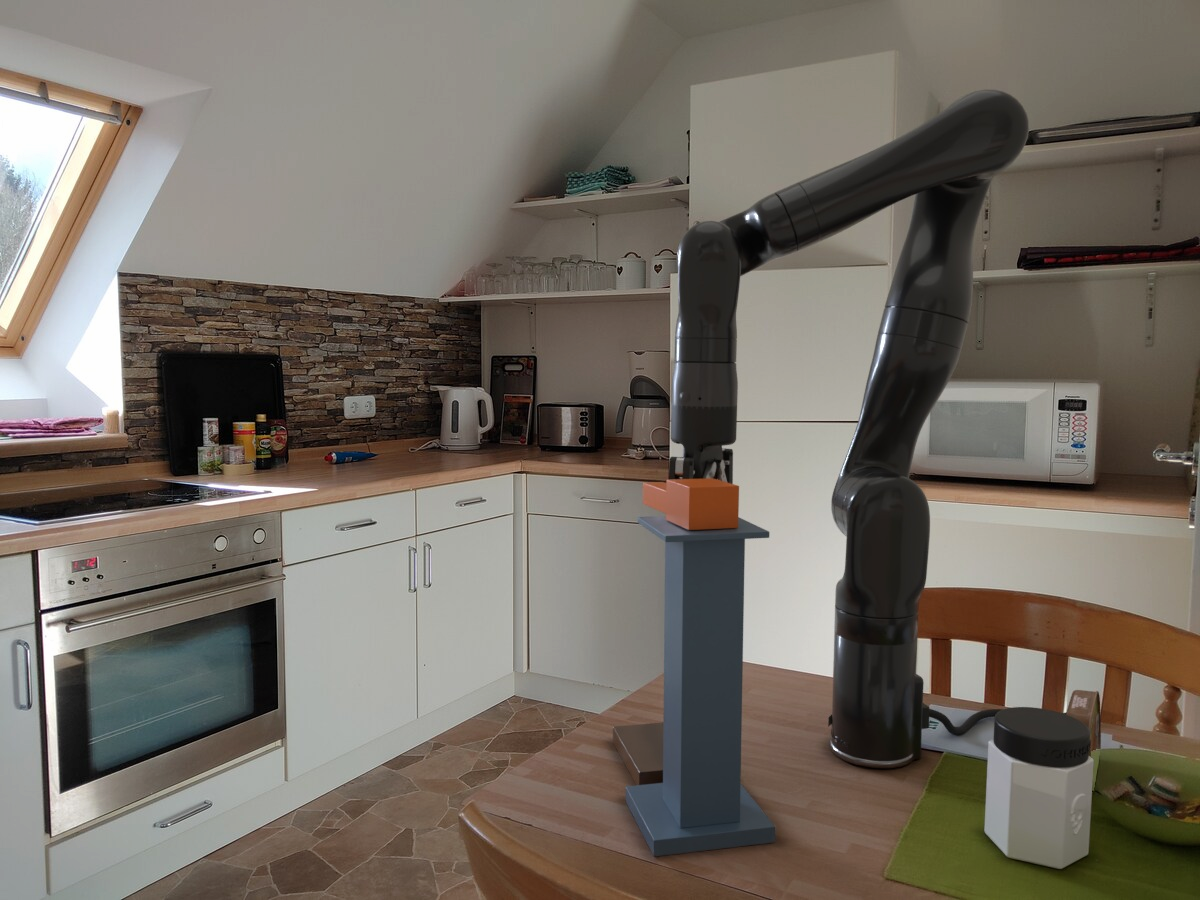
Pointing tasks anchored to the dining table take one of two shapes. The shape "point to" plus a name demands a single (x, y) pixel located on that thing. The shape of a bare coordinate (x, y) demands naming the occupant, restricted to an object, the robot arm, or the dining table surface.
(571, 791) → the dining table surface
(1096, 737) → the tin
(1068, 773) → the jar
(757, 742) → the dining table surface
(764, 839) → the stand
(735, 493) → the orange toy mallet
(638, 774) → the pad
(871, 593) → the robot arm
